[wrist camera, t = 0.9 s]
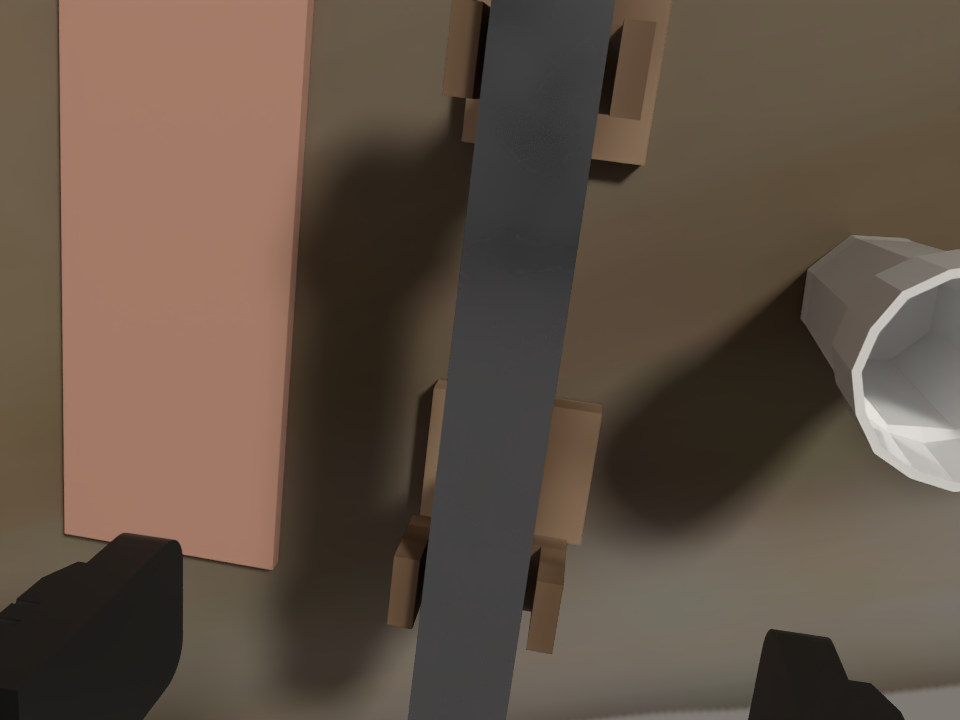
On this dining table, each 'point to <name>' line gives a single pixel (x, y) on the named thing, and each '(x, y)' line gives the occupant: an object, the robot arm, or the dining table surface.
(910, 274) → the cup
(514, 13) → the rail
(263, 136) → the mat
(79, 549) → the dining table surface
